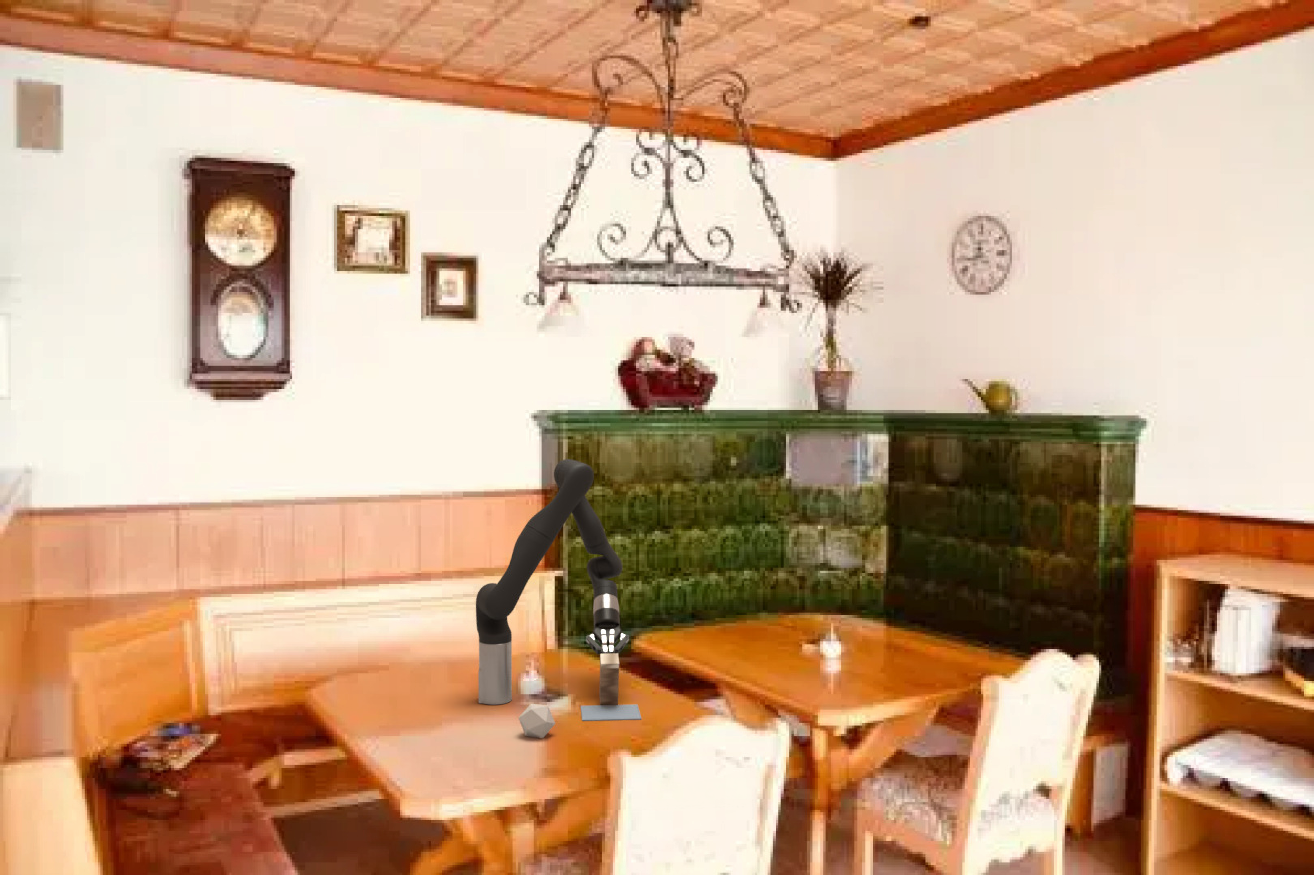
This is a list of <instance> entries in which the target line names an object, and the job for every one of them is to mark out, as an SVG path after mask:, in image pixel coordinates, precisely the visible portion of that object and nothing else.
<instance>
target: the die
mask: <svg viewBox="0 0 1314 875" xmlns="http://www.w3.org/2000/svg"><path fill="white" fill-rule="evenodd" d="M518 720H519V724H520V726H521V729H522V731H523V733H524V735H525V737H531V738H537V739H538V738H539V739H544V738H545V736H547V734H549V732H550V730H551V729H553V727H554V726H555V725H556V722H555V720H554V718H553V714H552V712H551V710H550V707H549V705H544V704H537V703H530V704H529V705H528V706H527V708H526V709H524V711H523V712H522V713H521V714H520V716H519V717H518Z"/></svg>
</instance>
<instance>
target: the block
mask: <svg viewBox="0 0 1314 875" xmlns="http://www.w3.org/2000/svg"><path fill="white" fill-rule="evenodd" d="M599 655H600V656H599V660H600V661H599V693H598V694H599V705H619V687H620V685H619V683H620V682H619V680H620V679H619V678H620V660H619V654H618V653H610V654H599Z"/></svg>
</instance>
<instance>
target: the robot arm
mask: <svg viewBox="0 0 1314 875" xmlns="http://www.w3.org/2000/svg"><path fill="white" fill-rule="evenodd" d="M594 474H595V473H594V469H593V468H592V467H591V466H590V465H588V464H587V463H584V462H582V461H579V460H574V459H569V458H567V459H566V458H565V459H562V460H560V461H559V462H557V464H556V465H555V467H554V470H553V479H554V481H555V484H556V486H557V488H558V492H557V493H556V495H555V496H554V498H553V499H552V500H551V501H550V502H549V503H548V504H547V505H546V506H544V507H543V508H541V509H540V510H539V511H538V512H536V513H535V514H534V515H532V517H531V518H530V519H529V520H528V521H527V523H526V524H525V525H524V527H523V529H522V531H521V532H520V533H519V535H518V536H517V539H516V541H515V542H514V546H513V549H512V554H511V557H510V560H509V563H508V566H507V568H506V571H505V572H504V573H503V575H502V576H501V578H500V579H499V581H498V582H497V583H495V582H494V583H493V582H491V583H490V582H489V583H486V584H484V585H483V586H482V587H480V588H479V590H478V591H477V594H476V598H475V618H476V619H475V622H476V630H477V633H478V704H484V705H492V706H493V705H505V704H507V703H510V702H511V701H512V699H513V696H512V695H513V690H512V687H513V685H512V684H513V683H512V681H513V680H512V678H513V677H512V676H513V671H512V670H513V667H512V666H513V665H512V664H513V663H512V660H513V659H512V657H513V656H512V654H513V652H512V647H513V646H512V642H513V641H512V629H511V627H510V625H509V623H508V622H509V621H508V617H509V616H510V615H511V614H512V613H513V612H514V609H515V608H516V605H517V604H518V602H519V600H520V597H521V595H522V593H523V592H524V590H525V588H526V586H527V583H528V582H529V580H530V578H531V577H532V576H533V574H534V572H535V571H536V569H537V567H538V566H539V564H540V563H541V562H542V560H543V558H544V557H545V555H546V553H548V551H549V549H550V547H551V546H552V545H553V543H554V541H555V539H556V537H557V536H558V534H559V533H560V532H561V530H562V528H563V526H564V525H565V524H566V522H567V520H568V519H569V517H570V516H571V515H572V516H573V518H574V521H575V523H576V526H577V529H578V532H579V534H580V537H581V539H582V542H583V545H584V548H585V551H586V552H587V553H588V554H590V555H599V556H596V557H591V558H590V559H589V560H588V562H587V564H586V571H587V575H588V576H589V578H590V581H591V586H592V589H593V590H592V591H593V606H592V608H593V612H592V614H593V630H592V633H591V634H590V635H589V634H587V635H586V637H585V643H586V644H587V645H588V647H590V648H591V649H592V650H593V651H594V652H595V653H596V654H597V655H600V654H610V653H618V655H619V654H620V652H621V651H622V650H623V649H624V648H625V647H626V645H627V644H628V643H629V642H630V641H629V640H630V635H629V634H624V633H623V631H622V629H621V623H620V622H621V621H620V620H621V619H620V605H619V598H618V587H617V584H616V582H615V581H613V580H610V579H611V578H616V577H619V576H620V575H621V574H622V572H623V562H622V560H621V559H620V556H619V555H618V554H617V552H616V551H615V550H614V549H613V547H612V545H611V544H610V543H609V540H608V537H607V535H606V532H605V529H604V526H603V524H602V521H601V520H600V518H599V516H598V515H597V513H596V512H595V510H594V508H593V506H592V505H591V504H590V502H589V500H588V499H587V496H586V494H587V493H588V492H589V490H590V489H591V487H592V485H593V482H594V479H595V478H594V476H595V475H594ZM619 640H620V641H619ZM596 641H597V642H598V643H599V644H598V643H597V642H596ZM618 641H619V642H618ZM617 642H618V643H617ZM615 644H617V645H615ZM614 645H615V647H614Z"/></svg>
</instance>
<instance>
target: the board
mask: <svg viewBox="0 0 1314 875" xmlns="http://www.w3.org/2000/svg"><path fill="white" fill-rule="evenodd" d="M639 708H640V707H639V704H637V703H636V704H618V705H600V704H596V705H580V713H581V721H582V722H593V721H594V722H596V721H598V722H600V721H601V722H603V721H632V720H633V721H636V720H638V721H639V720H640V721H641V720H642V716H641V711H640V709H639Z"/></svg>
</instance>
